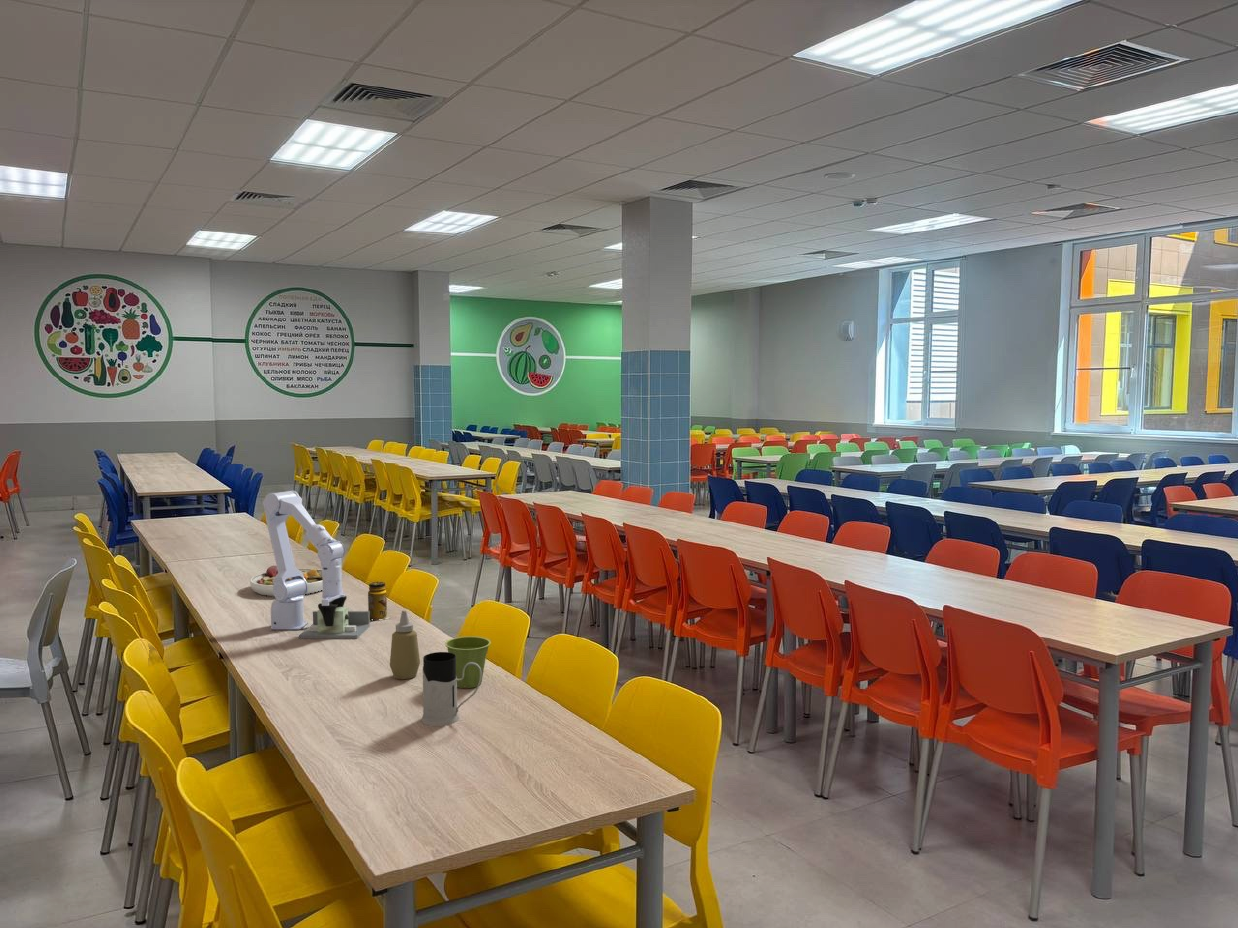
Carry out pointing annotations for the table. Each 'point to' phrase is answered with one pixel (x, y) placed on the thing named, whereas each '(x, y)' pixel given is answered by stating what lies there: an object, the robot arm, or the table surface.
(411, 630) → the squeeze bottle
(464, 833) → the table surface
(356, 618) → the board
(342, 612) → the block
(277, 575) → the robot arm
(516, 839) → the table surface
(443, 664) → the glass holder
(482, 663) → the plant pot
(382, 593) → the condiment
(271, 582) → the bowl
